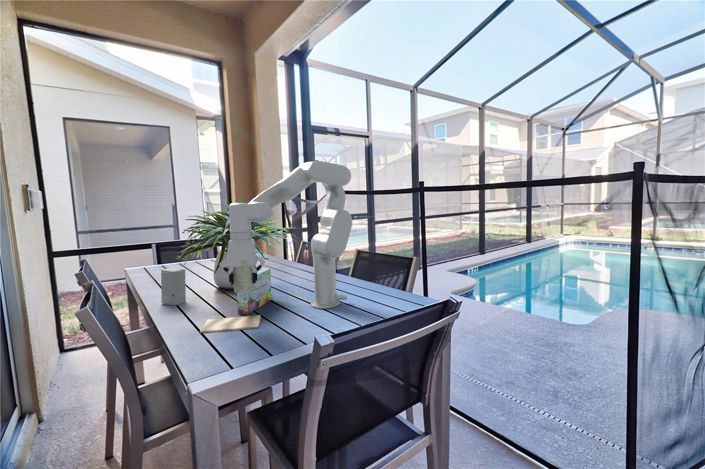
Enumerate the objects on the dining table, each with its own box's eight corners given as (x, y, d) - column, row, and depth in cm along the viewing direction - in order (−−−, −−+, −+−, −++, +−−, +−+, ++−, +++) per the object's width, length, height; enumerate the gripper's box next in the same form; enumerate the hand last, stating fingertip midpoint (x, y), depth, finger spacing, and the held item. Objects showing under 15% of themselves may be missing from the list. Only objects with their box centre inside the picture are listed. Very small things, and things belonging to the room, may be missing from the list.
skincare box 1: (161, 304, 155) (158, 270, 153) (174, 299, 161) (172, 266, 160) (175, 306, 152) (172, 271, 150) (188, 301, 158) (185, 268, 156)
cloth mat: (260, 316, 137) (260, 315, 137) (258, 327, 125) (258, 326, 125) (207, 320, 133) (207, 319, 133) (200, 333, 121) (199, 331, 121)
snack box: (249, 315, 139) (248, 278, 137) (237, 314, 140) (235, 278, 138) (272, 299, 160) (270, 267, 158) (261, 298, 161) (259, 267, 159)
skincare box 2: (254, 291, 129) (253, 259, 128) (246, 294, 125) (244, 261, 124) (241, 289, 132) (239, 258, 130) (233, 292, 128) (231, 260, 126)
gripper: (266, 234, 131) (268, 279, 133) (218, 236, 128) (221, 282, 130) (264, 236, 124) (266, 284, 126) (214, 238, 121) (217, 287, 123)
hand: (243, 283), depth 128 cm, fingers closed on skincare box 2, 7 cm apart
